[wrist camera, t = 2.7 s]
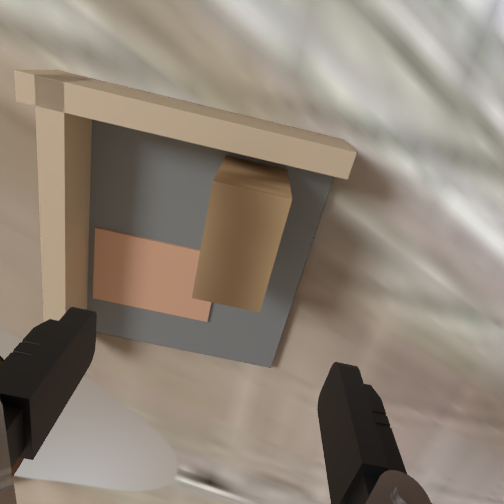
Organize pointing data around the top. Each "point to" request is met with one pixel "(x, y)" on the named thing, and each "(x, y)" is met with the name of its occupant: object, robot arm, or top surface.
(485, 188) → the top surface
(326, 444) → the robot arm
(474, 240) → the top surface
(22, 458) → the brown rough-edged lump
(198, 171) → the tray
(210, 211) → the oak block
